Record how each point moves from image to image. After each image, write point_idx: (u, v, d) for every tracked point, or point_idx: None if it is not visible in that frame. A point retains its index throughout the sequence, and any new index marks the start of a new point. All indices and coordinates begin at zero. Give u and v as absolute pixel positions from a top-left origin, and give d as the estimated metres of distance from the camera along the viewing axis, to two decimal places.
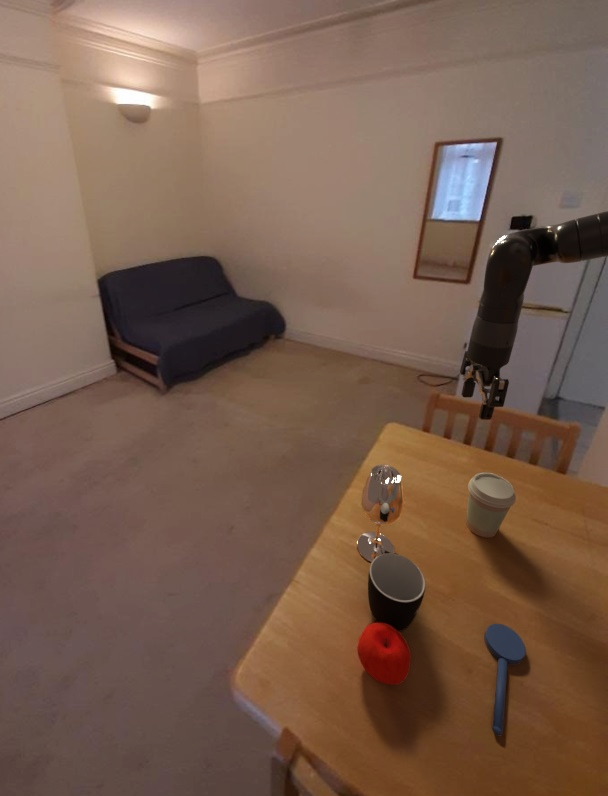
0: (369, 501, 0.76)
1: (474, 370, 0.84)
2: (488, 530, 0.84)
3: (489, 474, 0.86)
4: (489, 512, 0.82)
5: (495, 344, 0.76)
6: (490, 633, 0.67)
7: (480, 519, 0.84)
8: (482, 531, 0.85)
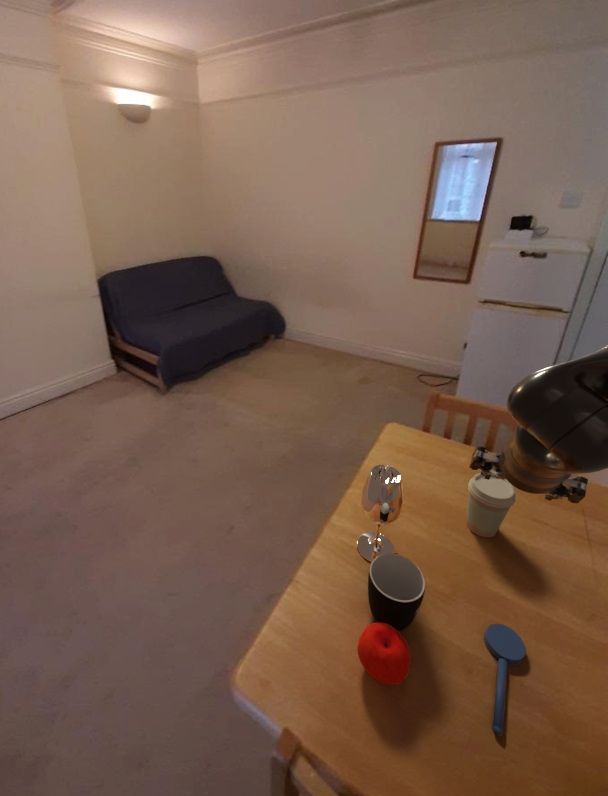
0: (370, 501, 0.76)
1: None
2: (488, 530, 0.84)
3: None
4: (489, 512, 0.82)
5: (568, 477, 0.51)
6: (490, 633, 0.67)
7: (480, 519, 0.84)
8: (482, 531, 0.85)
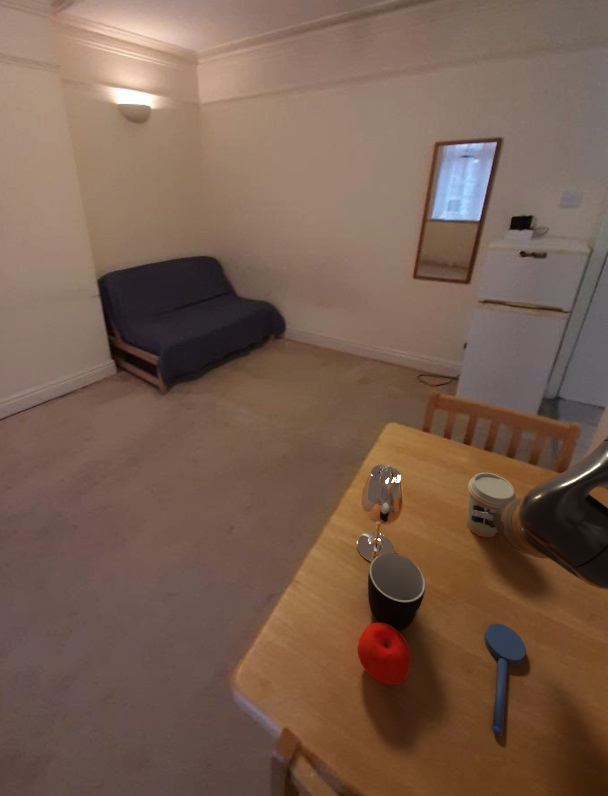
0: (370, 501, 0.76)
1: None
2: (488, 530, 0.84)
3: (489, 474, 0.86)
4: None
5: None
6: (490, 633, 0.67)
7: None
8: (482, 531, 0.85)
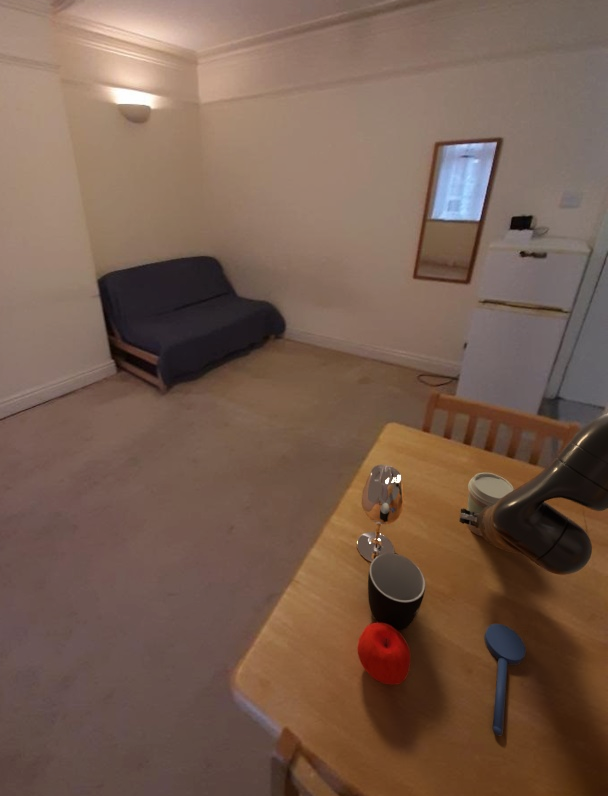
0: (370, 501, 0.76)
1: None
2: None
3: (489, 474, 0.86)
4: None
5: None
6: (490, 633, 0.67)
7: None
8: None
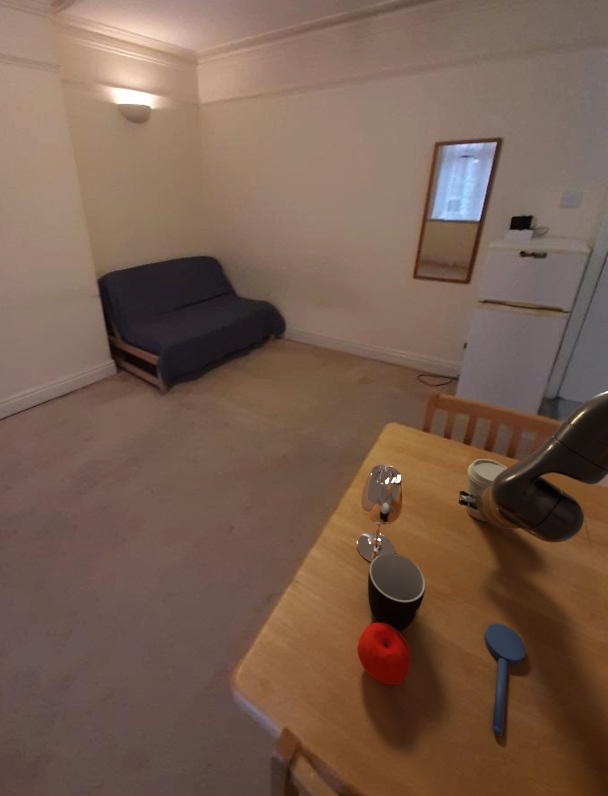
0: (370, 501, 0.76)
1: None
2: None
3: (489, 460, 0.89)
4: None
5: None
6: (490, 633, 0.67)
7: None
8: (480, 514, 0.89)
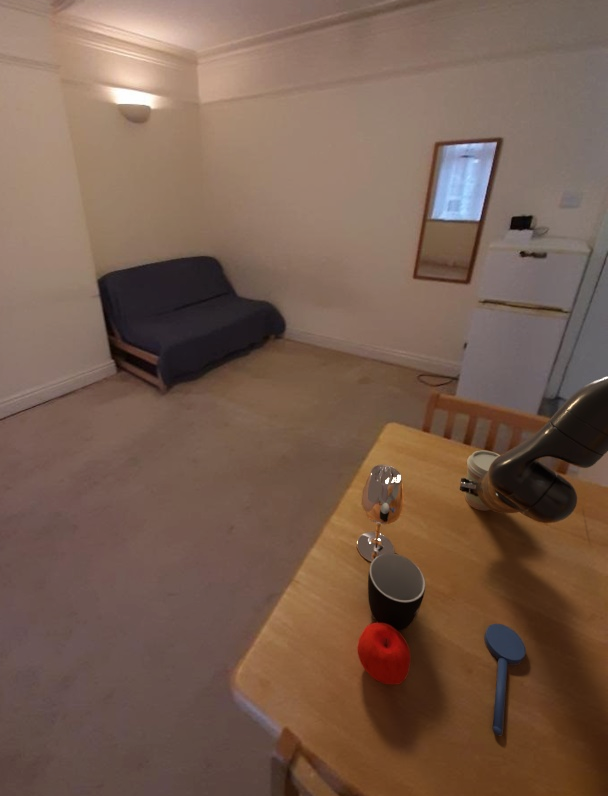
0: (370, 501, 0.76)
1: None
2: None
3: (487, 452, 0.92)
4: None
5: None
6: (490, 633, 0.67)
7: None
8: (479, 504, 0.91)
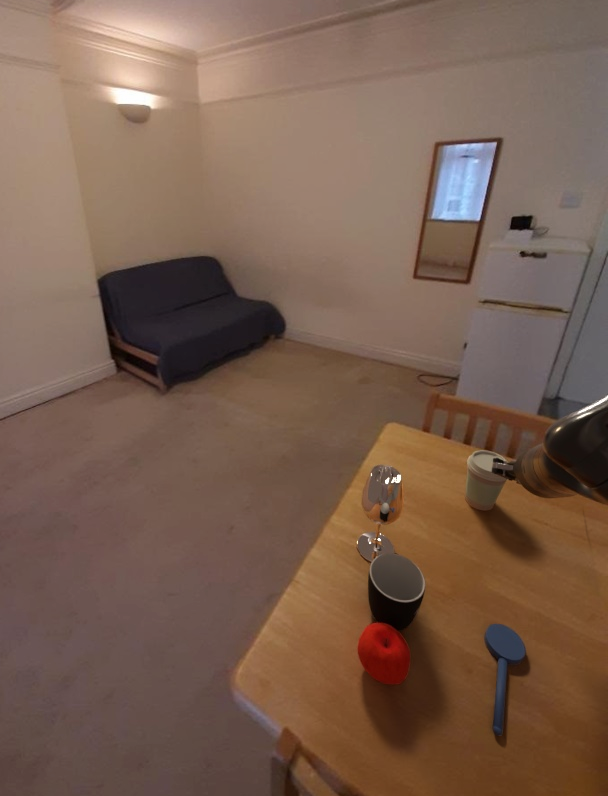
0: (370, 501, 0.76)
1: None
2: (485, 503, 0.90)
3: (487, 452, 0.92)
4: (485, 486, 0.88)
5: None
6: (490, 633, 0.67)
7: (477, 493, 0.90)
8: (479, 504, 0.91)
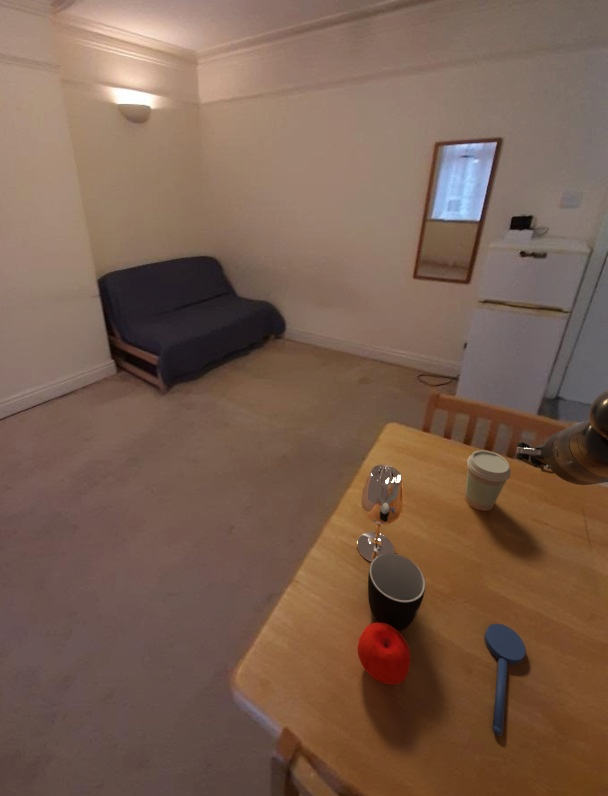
0: (370, 501, 0.76)
1: None
2: (485, 503, 0.90)
3: (487, 452, 0.92)
4: (485, 486, 0.88)
5: None
6: (490, 633, 0.67)
7: (477, 493, 0.90)
8: (479, 504, 0.91)
